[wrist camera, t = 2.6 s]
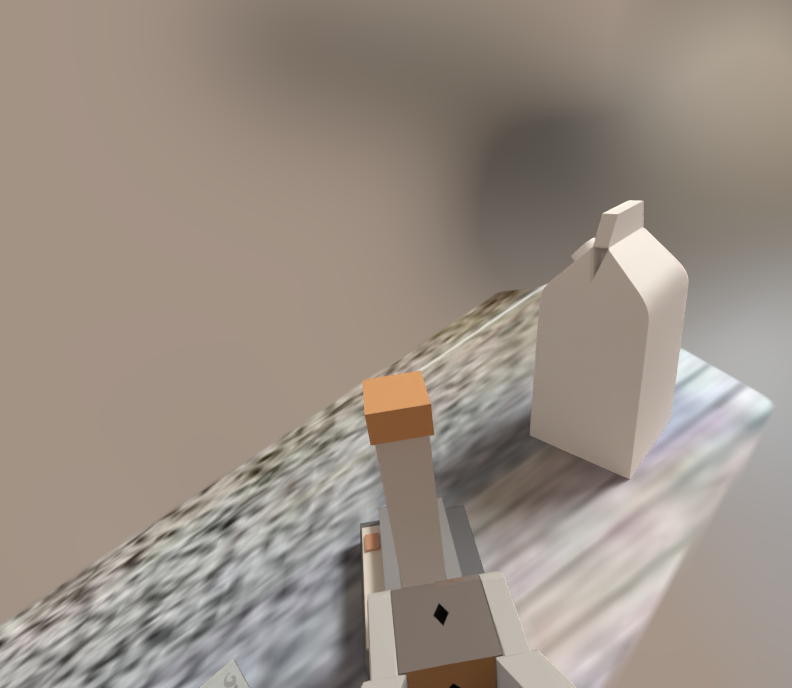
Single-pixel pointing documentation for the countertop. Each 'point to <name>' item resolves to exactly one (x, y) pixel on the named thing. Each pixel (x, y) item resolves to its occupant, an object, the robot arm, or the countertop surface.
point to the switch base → (382, 558)
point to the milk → (610, 345)
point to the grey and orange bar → (407, 472)
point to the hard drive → (227, 678)
